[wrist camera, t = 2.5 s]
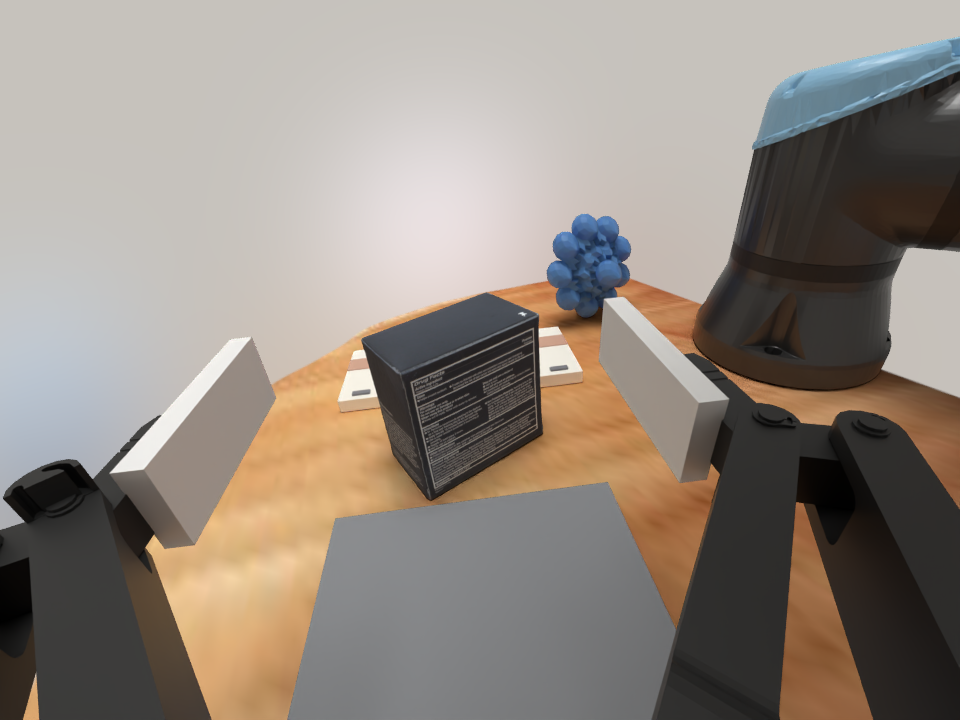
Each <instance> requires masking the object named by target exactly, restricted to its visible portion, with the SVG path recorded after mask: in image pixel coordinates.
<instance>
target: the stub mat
mask: <svg viewBox="0 0 960 720" xmlns="http://www.w3.org/2000/svg"><path fill="white" fill-rule="evenodd" d="M675 633H676V629H675V626H674V624H673V622H672V620H671V618H670V616H669V613H668V611H667V609H666V607H665V605H664V603H663V600H662V598H661V596H660V594H659V592H658V590H657V588H656V585H655V583H654V581H653V579H652V577H651V575H650V572H649V570H648V568H647V566H646V564H645V562H644V559H643V557H642V555H641V553H640V551H639V549H638V546H637V544H636V542H635V540H634V538H633V536H632V534H631V531H630V529H629V527H628V525H627V523H626V521H625V518H624V516H623V514H622V512H621V510H620V508H619V505H618V503H617V501H616V499H615V497H614V495H613V493H612V490H611V488H610V486H609V484H608V482H605V483H597V484H590V485H582V486H575V487H567V488H560V489H552V490H545V491H537V492H530V493H522V494H515V495H508V496H500V497H493V498H485V499H478V500H470V501H463V502H455V503H448V504H440V505H433V506H425V507H418V508H411V509H403V510H396V511H388V512H381V513H373V514H366V515H358V516H351V517H343V518H336V519H335V522H334V526H333V531H332V535H331V539H330V543H329V547H328V551H327V556H326V560H325V564H324V568H323V572H322V577H321V581H320V585H319V589H318V593H317V597H316V602H315V606H314V610H313V614H312V618H311V622H310V627H309V631H308V635H307V639H306V643H305V647H304V652H303V656H302V660H301V664H300V668H299V673H298V677H297V681H296V685H295V689H294V693H293V698H292V702H291V706H290V710H289V714H288V718H287V720H651V719H652V716H653V712H654V709H655V705H656V701H657V698H658V694H659V691H660V687H661V684H662V680H663V676H664V673H665V669H666V666H667V662H668V658H669V655H670V651H671V648H672V644H673V640H674V637H675Z"/></svg>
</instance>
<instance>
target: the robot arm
mask: <svg viewBox="0 0 960 720" xmlns="http://www.w3.org/2000/svg"><path fill="white" fill-rule="evenodd" d="M752 149H754V154H753V158H752V162H751V167H750V171H749V175H748V180H747V185H746V188H745V193H744V198H743V202H742V206H741V210H740V215H739V219H738V224H737V228H736V232H735V237H734V241H733V245H732V249H731V254H730V258H729V261H728V264H727V265H726V267H725V269H724V270H723V272H722V274H721V275H720V277H719V278H718V280H717V282H716V283H715V285H714V287H713V289H712V290H711V292H710V294H709V296H708V297H707V299H706V301H705V303H704V304H703V305H702V306H701V307H700V309H699V310H698V313H697V315H696V320H695V325H694V330H693V339H694V342H695V344H696V345H697V347H698V348H699V349H700V350H701V351H702V352H703V353H704V354H705V355H706V356H707V357H709V358H710V359H712V360H713V361H715V362H716V363H718V364H720V365H722V366H724V367H725V368H728V369H730V370H732V371H734V372H737V373H739V374H742V375H745V376H747V377H750V378H754V379H757V380H760V381H764V382H768V383H773V384H777V385H783V386H789V387H796V388H805V389H840V388H848V387H853V386H857V385H861V384H864V383H866V382H868V381H870V380H872V379H873V378H875V377H876V376H877V375H878V374H879V372H880V370H881V368H882V366H883V364H884V362H885V360H886V358H887V356H888V354H889V352H890V348H891V335H890V333H889V331H888V328H889V319H890V306H891V286H892V280H893V278H894V275H895V273H896V271H897V268H898V266H899V264H900V261H901V259H902V257H903V255H904V253H905V251H906V249H907V248H923V249H935V250H948V251H956V252H960V37H957V38H952V39H947V40H942V41H937V42H932V43H928V44H922V45H918V46H913V47H909V48H905V49H900V50H895V51H891V52H886V53H882V54H878V55H873V56H869V57H864V58H860V59H855V60H851V61H846V62H842V63H837V64H833V65H829V66H825V67H820V68H816V69H812V70H808V71H804V72H801V73H797V74H795V75H792V76H790V77H789V78H787V79H785V80H784V81H783V82H782V83H780V84H779V85H778V86H777V88H776V89H775V90H774V91H773V92H772V94H771V96H770V98H769V100H768V103H767V106H766V109H765V113H764V116H763V120H762V123H761V127H760V130H759V133H758V136H757V140H756V141H755V142H754V143H753V146H752ZM599 362H600V364H601V365H602V367H603V368H604V370H605V371H606V373H607V374H608V376H609V377H610V379H611V380H612V382H613V383H614V385H615V386H616V388H617V389H618V391H619V392H620V394H621V395H622V397H623V398H624V400H625V401H626V403H627V404H628V406H629V407H630V409H631V410H632V412H633V413H634V415H635V416H636V418H637V419H638V421H639V422H640V424H641V425H642V427H643V428H644V430H645V432H646V433H647V435H648V436H649V438H650V439H651V441H652V442H653V444H654V445H655V447H656V448H657V450H658V451H659V453H660V454H661V456H662V457H663V459H664V460H665V462H666V463H667V465H668V466H669V468H670V469H671V471H672V472H673V474H674V475H675V477H676V478H677V480H678V481H679V483H683V482H691V481H699V480H707V476H708V473H709V469H710V466H711V463H712V465H713V466H714V467H715V469H716V470H717V471H718V472H719V474H720V476H719V479H718V483H717V486H716V489H715V492H714V496H713V499H712V504H711V508H710V511H709V515H708V519H707V522H706V526H705V529H704V533H703V536H702V540H701V544H700V547H699V551H698V554H697V558H696V562H695V565H694V569H693V572H692V576H691V580H690V583H689V587H688V590H687V594H686V597H685V601H684V605H683V608H682V612H681V615H680V619H679V623H678V626H677V630H676V633H675V637H674V640H673V644H672V648H671V651H670V655H669V658H668V662H667V666H666V669H665V673H664V676H663V680H662V684H661V687H660V691H659V694H658V698H657V701H656V705H655V709H654V712H653V716H652V719H651V720H780V717H779V704H780V692H781V680H782V667H783V655H784V642H785V630H786V618H787V605H788V593H789V581H790V568H791V556H792V544H793V531H794V519H795V506H796V502H799V503H804V506H805V509H806V512H807V515H808V518H809V521H810V524H811V527H812V531H813V534H814V537H815V540H816V543H817V546H818V549H819V552H820V555H821V558H822V562H823V565H824V568H825V571H826V574H827V577H828V580H829V583H830V586H831V589H832V593H833V596H834V599H835V602H836V605H837V608H838V611H839V614H840V617H841V620H842V624H843V627H844V630H845V633H846V636H847V639H848V642H849V645H850V648H851V652H852V655H853V658H854V661H855V664H856V667H857V670H858V673H859V676H860V679H861V683H862V686H863V689H864V692H865V695H866V698H867V701H868V704H869V707H870V710H871V714H872V717H873V720H960V509H959V508H958V507H957V505H956V504H955V502H954V501H953V499H952V498H951V496H950V495H949V494H948V492H947V491H946V489H945V488H944V486H943V485H942V483H941V482H940V481H939V479H938V478H937V476H936V475H935V473H934V472H933V470H932V469H931V467H930V466H929V465H928V463H927V462H926V460H925V459H924V457H923V456H922V454H921V453H920V452H919V450H918V449H917V447H916V446H915V444H914V443H913V441H912V440H911V439H910V437H909V436H908V434H907V433H906V432H905V431H904V430H903V429H902V428H901V427H900V426H899V425H897V424H896V423H894V422H892V421H890V420H889V419H887V418H885V417H883V416H879V415H877V414H874V413H868V412H864V411H852V410H848V411H844V412H840V413H839V414H838V415H837V416H836V418H835V420H834V422H833V424H832V426H827V425H816V424H805V423H800V421H799V420H798V419H797V418H796V417H795V416H794V415H793V414H792V413H790V412H788V411H786V410H785V409H783V408H780V407H777V406H774V405H770V404H763V403H756V402H755V401H753V400H752V399H751V398H750V397H749V396H748V395H747V394H746V393H745V392H743V391H742V390H741V389H740V388H739V387H738V386H737V385H736V384H735V383H733V382H732V381H731V380H730V379H729V380H728V377H727V376H726V375H725V374H723V373H722V372H720V371H719V369H718V368H717V367H716V366H715V365H713V364H712V363H711V362H710V361H709V360H707V359H705V358H703V357H701V356H699V355H697V354H694V353H691V354H682V353H681V352H680V351H679V350H678V349H677V348H676V347H675V346H674V345H673V344H672V343H671V342H670V341H669V340H668V339H667V338H666V337H665V336H664V335H663V334H662V333H661V332H660V331H659V330H657V329H656V328H655V327H654V326H653V325H652V324H651V323H650V322H649V321H648V320H647V319H646V318H645V317H644V316H643V315H642V314H641V313H640V312H639V311H638V310H637V309H636V308H635V307H634V306H633V305H632V304H631V303H630V302H629V301H628V300H626V299H625V298H624V297H617V298H608V299H604V304H603V316H602V328H601V340H600V352H599ZM275 399H276V396H275V394H274V391H273V389H272V386H271V384H270V381H269V379H268V376H267V374H266V371H265V369H264V366H263V364H262V361H261V359H260V357H259V354H258V351H257V349H256V346H255V344H254V341H253V339H252V337H246V338H237V339H230V340H229V341H228V343H227V344H226V345H225V346H224V347H223V348H222V349H221V350H220V352H218V354H217V355H216V356H215V357H214V358H213V359H212V360H211V361H210V362H209V364H208V365H207V366H206V367H205V368H204V369H203V370H202V372H200V374H199V375H198V376H197V377H196V378H195V379H194V380H193V381H192V382H191V384H190V385H189V386H188V387H187V388H186V389H185V390H184V391H183V393H182V394H181V395H180V396H179V397H178V398H177V399H176V400H175V401H174V403H172V405H171V406H170V407H169V408H168V409H167V410H166V411H165V413H163V415H160V416H157V417H156V418H154V419H153V420H151V421H150V422H148V423H147V424H145V425H144V426H143V427H141V428H140V429H139V430H138V431H137V432H136V434H135V435H134V436H133V437H132V438H131V439H130V442H127V443H126V444H125V445H124V446H123V447H122V449H121V450H120V453H117V454H116V455H115V456H114V457H113V458H112V459H111V460H110V461H109V463H108V464H107V465H106V466H105V467H104V468H103V469H102V470H101V471H100V472H99V473H98V474H97V475H96V476H95V478H94V479H92V478H91V477H90V476H89V474H88V473H87V472H86V470H85V469H84V468H83V466H82V465H81V464H80V463H79V462H78V461H77V460H71V459H66V460H61V461H56V462H53V463H50V464H47V465H44V466H41V467H40V468H37V469H35V470H33V471H32V472H30V473H28V474H26V475H25V476H23V477H22V478H20V479H19V480H18V481H16V482H14V483H13V484H12V485H11V486H10V487H9V488H8V489H7V490H6V492H5V494H4V497H3V499H4V500H5V501H6V502H7V503H8V504H9V505H10V506H11V508H12V509H13V510H14V511H15V512H16V513H17V514H18V515H19V516H20V517H21V518H22V519H23V520H24V521H25V522H24V523H21V524H18V525H15V526H12V527H9V528H6V529H2V530H0V720H23V717H24V714H25V710H26V706H27V703H28V699H29V696H30V692H31V688H32V685H33V681H34V678H35V674H37V690H38V706H39V720H211V717H210V714H209V711H208V709H207V706H206V703H205V700H204V698H203V695H202V692H201V689H200V687H199V684H198V681H197V679H196V676H195V673H194V670H193V668H192V665H191V662H190V659H189V657H188V654H187V651H186V648H185V646H184V643H183V640H182V637H181V635H180V632H179V629H178V627H177V624H176V621H175V618H174V616H173V613H172V610H171V607H170V605H169V602H168V599H167V596H166V594H165V591H164V588H163V585H162V583H161V580H160V577H159V575H158V572H157V569H156V566H155V564H154V561H153V558H152V556H151V554H150V553H149V552H148V551H147V549H146V548H145V547H146V546H147V544H148V543H149V541H150V540H151V538H152V537H153V535H155V536H156V538H157V539H158V540H159V542H160V543H161V544H162V546H163V547H164V548H165V549H167V548H175V547H183V546H191V545H195V543H196V542H197V540H198V538H199V536H200V534H201V533H202V531H203V529H204V527H205V525H206V524H207V522H208V520H209V518H210V516H211V515H212V513H213V511H214V509H215V507H216V506H217V504H218V502H219V500H220V498H221V497H222V495H223V493H224V491H225V489H226V488H227V486H228V484H229V482H230V480H231V479H232V477H233V475H234V473H235V471H236V470H237V468H238V466H239V464H240V462H241V461H242V459H243V457H244V455H245V453H246V452H247V450H248V448H249V446H250V444H251V443H252V441H253V439H254V437H255V435H256V434H257V432H258V430H259V428H260V426H261V425H262V423H263V421H264V419H265V417H266V416H267V414H268V412H269V410H270V408H271V407H272V405H273V403H274V401H275Z"/></svg>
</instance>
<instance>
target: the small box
mask: <svg viewBox="0 0 960 720" xmlns="http://www.w3.org/2000/svg"><path fill="white" fill-rule="evenodd" d="M538 324H539V314H538V313H535V312H532V311H530V310H528V309H525V308H523V307H521V306H518V305H516V304H513V303H511V302H509V301H506V300H504V299H502V298H499V297H497V296H494V295H492V294H490V293H483V294H481V295H478V296H475V297H473V298H470V299H467V300H465V301H462V302H459V303H456V304H454V305H451V306H448V307H446V308H443V309H440V310H437V311H435V312H432V313H430V314H427V315H424V316H421V317H419V318H416V319H413V320H410V321H408V322H405V323H402V324H400V325H397V326H394V327H391V328H389V329H386V330H383V331H381V332H378V333H375V334H372V335H370V336H367V337H364V338H362V340H361V341H362V344H363V348H364V351H365V354H366V358H367V362H368V365H369V368H370V372H371V376H372V380H373V383H374V386H375V390H376V393H377V397H378V401H379V404H380V408H381V411H382V415H383V419H384V422H385V426H386V430H387V433H388V437H389V440H390V444H391V448H392V452H393V455H394V456H395V457H396V459H397V460H398V461H399V463H400V464H401V465H402V467H403V468H404V469H405V471H406V472H407V473H408V475H409V476H410V477H411V478H412V480H413V481H414V482H415V483H416V485H417V486H418V487H419V489H420V490H421V491H422V492H423V494H424V495H425V496H426V497H427V498H428V499H429V500H432V499H434V498H436V497H438V496H439V495H441V494H443V493H444V492H446V491H448V490H450V489H451V488H453V487H454V486H456V485H458V484H459V483H461V482H463V481H464V480H466V479H468V478H469V477H471V476H473V475H474V474H476V473H478V472H479V471H481V470H483V469H484V468H486V467H488V466H489V465H491V464H493V463H494V462H496V461H498V460H499V459H501V458H503V457H504V456H506V455H508V454H509V453H511V452H513V451H514V450H516V449H518V448H519V447H521V446H523V445H524V444H526V443H527V442H529V441H531V440H533V439H534V438H536V437H537V436H539V435H541V434H542V433H543V425H542V415H541V390H540V354H539V328H538V326H539V325H538Z"/></svg>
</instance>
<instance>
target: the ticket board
mask: <svg viewBox="0 0 960 720" xmlns="http://www.w3.org/2000/svg"><path fill="white" fill-rule="evenodd" d="M539 354H540V387H548V386H556V385H564V384H572V383H580V382H582V380H583V370H582V369H581V367H580V365H579V363H578V362H577V360H576V358H575V356H574V354H573V353H572V351H571V349H570V347H569V346H568V343H567V341H566V339H565V338H564V336H563V334H562V333H561V331H560V330H559V328H558V327H550V328H542V329H539ZM338 405H339V408H340V411H341V412H348V411H356V410H364V409H372V408H380V404H379V401H378V397H377V393H376V390H375V386H374V383H373V380H372V376H371V372H370V368H369V365H368V362H367V358H366V354H365V351H364V350H358V351H354V353H353V356H352V359H351V360H350V363H349V366H348V369H347V374H346V377H345V380H344V383H343V386H342V389H341V392H340V395H339V399H338Z"/></svg>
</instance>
